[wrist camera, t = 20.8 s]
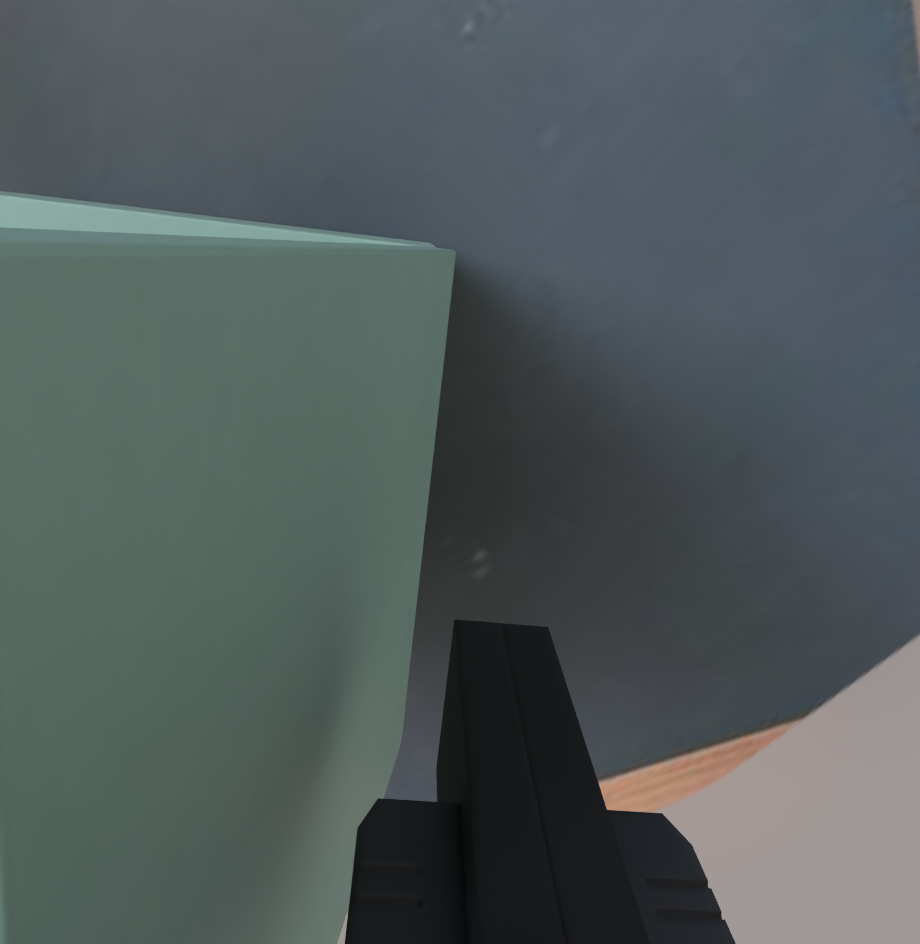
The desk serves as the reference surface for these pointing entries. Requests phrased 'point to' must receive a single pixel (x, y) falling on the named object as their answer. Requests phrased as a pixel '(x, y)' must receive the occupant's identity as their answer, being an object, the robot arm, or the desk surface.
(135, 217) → the box
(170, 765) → the lid
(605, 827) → the robot arm
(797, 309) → the desk surface
